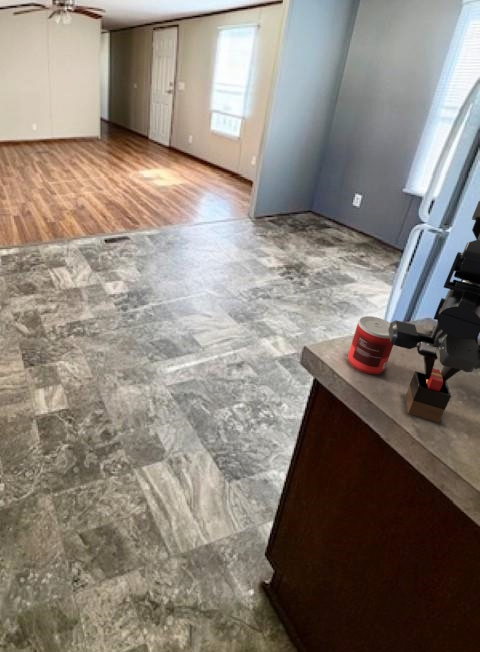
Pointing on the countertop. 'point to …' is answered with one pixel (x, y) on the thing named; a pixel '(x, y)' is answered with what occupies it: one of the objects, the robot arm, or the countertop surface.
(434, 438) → the countertop surface
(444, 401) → the open brown box
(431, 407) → the dark brown cube
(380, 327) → the canned food
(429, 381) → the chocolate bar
